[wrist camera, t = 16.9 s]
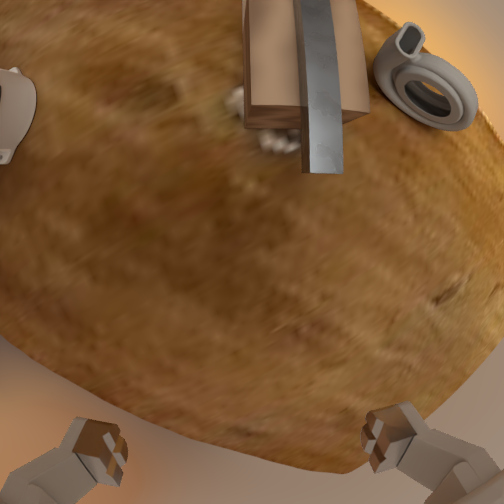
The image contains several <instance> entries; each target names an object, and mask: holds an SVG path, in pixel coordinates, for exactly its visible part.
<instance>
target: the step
mask: <svg viewBox="0 0 504 504" xmlns="http://www.w3.org/2000/svg"><path fill="white" fill-rule="evenodd" d="M330 5H331V12H332V18H333V25H334V33H335V41H336V50H337V59H338V70H339V81H340V95H341V111H342V124H344V123H347V122H349V121H352V120H354V119H356V118H359V117H361V116H364V115H366V114H369V113H370V101H369V89H368V79H367V70H366V62H365V54H364V47H363V41H362V34H361V28H360V23H359V17H358V12H357V7H356V2H355V0H330ZM243 74H244V122H245V128H279V129H301V117H300V92H299V73H298V57H297V43H296V30H295V18H294V7H293V0H246V8H245V17H244V27H243Z"/></svg>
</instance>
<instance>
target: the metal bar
mask: <svg viewBox="0 0 504 504" xmlns="http://www.w3.org/2000/svg"><path fill="white" fill-rule="evenodd" d="M293 7H294V18H295V30H296V43H297V57H298V73H299V92H300V117H301V155H302V173H322V174H343V135H342V111H341V95H340V81H339V70H338V59H337V50H336V41H335V33H334V25H333V18H332V12H331V5H330V0H293Z"/></svg>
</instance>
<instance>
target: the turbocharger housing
mask: <svg viewBox="0 0 504 504" xmlns="http://www.w3.org/2000/svg"><path fill="white" fill-rule="evenodd" d="M424 42H425V35H424V32H423V31H422V30H421V28H420V27H419V26H418V25H416V24H414V23H412V22H406V23H405V24H404V25H403V27H402V28H401V29H400V30H398V31H397V32H396V33H394V34H393V35H392V36H390V37H389V38H388V39H387V40H386V41H385V43H384V44H383V46H382V47H381V49H380V50H379V52H378V54H377V55H376V57H375V59H374V62H373V73H374V77H375V80H376V82H377V84H378V86H379V87H380V89H381V90H382V91H383V93H384V94H385V95H386V96H387V97H388V98H389V99H390V100H391V101H392V102H393V103H394V104H395V105H396V106H397V107H398V108H400V109H401V110H402V111H404V112H405V113H407V114H408V115H409V116H411V117H413V118H414V119H416V120H418V121H420V122H422V123H424V124H426V125H429V126H431V127H434V128H437V129H441V130H445V131H459V130H463V129H466V128H467V127H469V126H470V125H471V123H472V122H473V120H474V118H475V115H476V112H477V109H478V98H477V94H476V92H475V89H474V88H473V86H472V84H471V83H470V81H469V80H468V79H467V78H466V77H465V76H464V75H463V74H462V73H461V72H460V71H459V70H458V69H457V68H455V67H454V66H452V65H451V64H450V63H448V62H447V61H445V60H444V59H442V58H440V57H438V56H435V55H432V54H428V53H419V51H420V49H421V47H422V45H423V43H424ZM421 81H422V82H425V83H427V84H429V85H431V86H433V87H435V88H436V89H437V90H439V91H440V92H441V93H442V94H443V95H444V96H442V95H439V94H437V93H435V92H433V91H431V90H430V89H428V88H427V87H426V86H425V85H423V83H422V82H421Z"/></svg>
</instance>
